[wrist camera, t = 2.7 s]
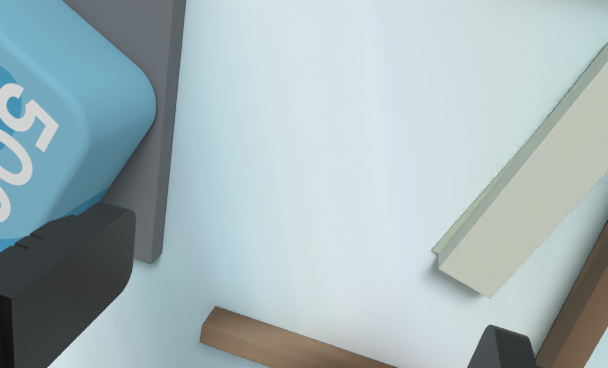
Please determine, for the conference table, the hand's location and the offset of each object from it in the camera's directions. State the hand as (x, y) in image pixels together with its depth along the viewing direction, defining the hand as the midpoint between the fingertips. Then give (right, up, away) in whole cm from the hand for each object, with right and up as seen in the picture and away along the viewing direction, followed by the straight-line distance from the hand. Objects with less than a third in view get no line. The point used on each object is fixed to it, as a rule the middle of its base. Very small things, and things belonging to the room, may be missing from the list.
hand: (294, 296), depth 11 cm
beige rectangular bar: (+9, +3, +8) cm, 12 cm away
